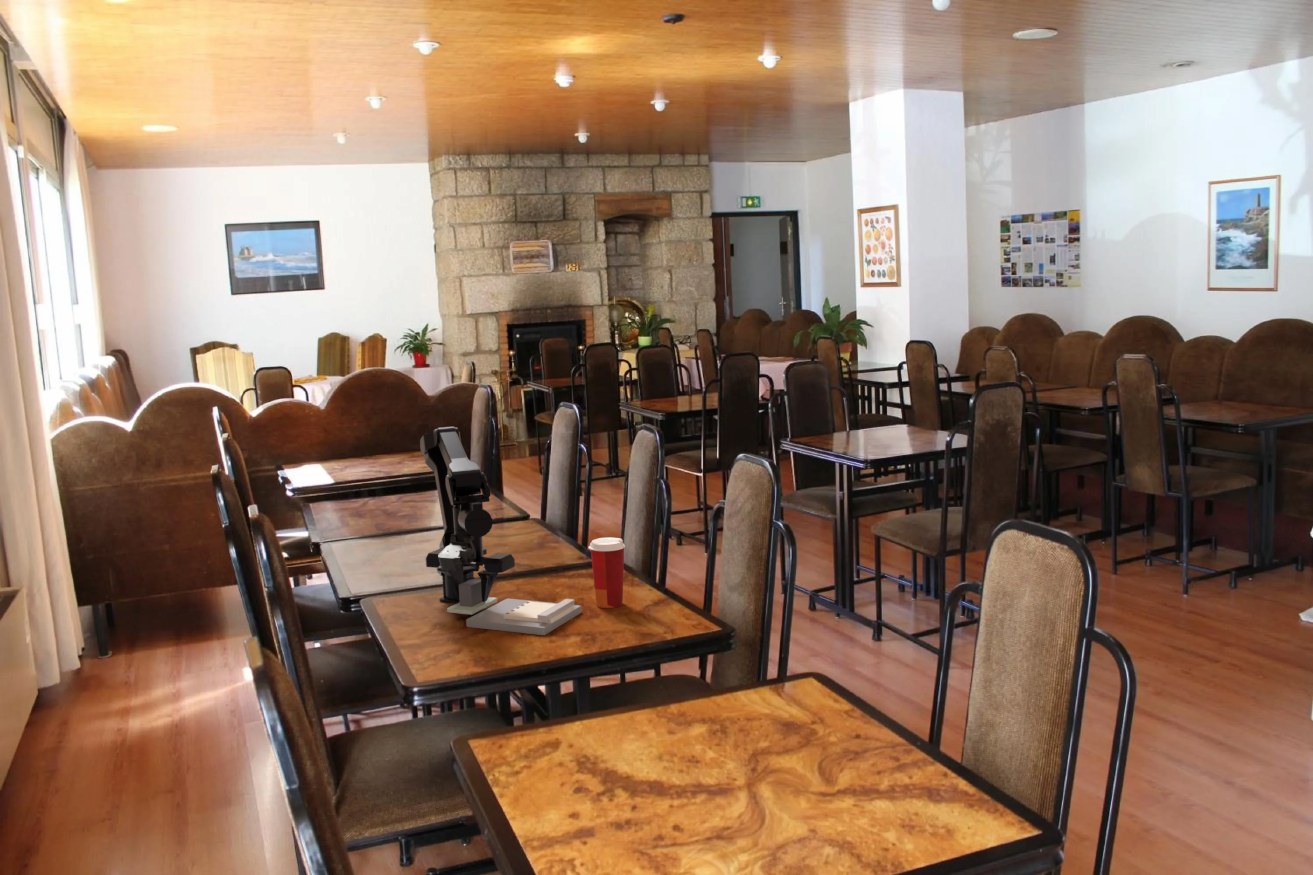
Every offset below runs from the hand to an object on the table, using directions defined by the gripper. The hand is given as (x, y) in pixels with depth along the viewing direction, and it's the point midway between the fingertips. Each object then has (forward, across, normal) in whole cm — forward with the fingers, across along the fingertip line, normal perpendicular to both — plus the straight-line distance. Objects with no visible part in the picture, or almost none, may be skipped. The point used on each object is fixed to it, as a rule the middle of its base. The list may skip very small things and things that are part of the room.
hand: (472, 600), depth 233 cm
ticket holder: (+3, +13, 0) cm, 13 cm away
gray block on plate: (+1, 0, 0) cm, 1 cm away
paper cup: (+3, +25, +15) cm, 29 cm away
